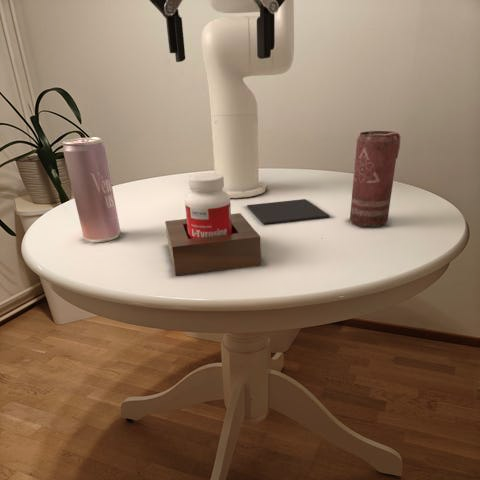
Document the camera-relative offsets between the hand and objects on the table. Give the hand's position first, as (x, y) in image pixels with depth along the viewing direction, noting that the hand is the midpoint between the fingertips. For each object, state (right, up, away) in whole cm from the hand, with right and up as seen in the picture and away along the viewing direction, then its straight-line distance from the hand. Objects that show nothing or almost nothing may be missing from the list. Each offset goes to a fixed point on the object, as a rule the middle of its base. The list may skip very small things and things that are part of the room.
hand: (223, 59), depth 48 cm
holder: (-2, -20, +13) cm, 24 cm away
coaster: (+11, -9, +31) cm, 34 cm away
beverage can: (-21, -16, +23) cm, 35 cm away
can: (+24, -13, +24) cm, 36 cm away
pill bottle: (-2, -20, +14) cm, 24 cm away
